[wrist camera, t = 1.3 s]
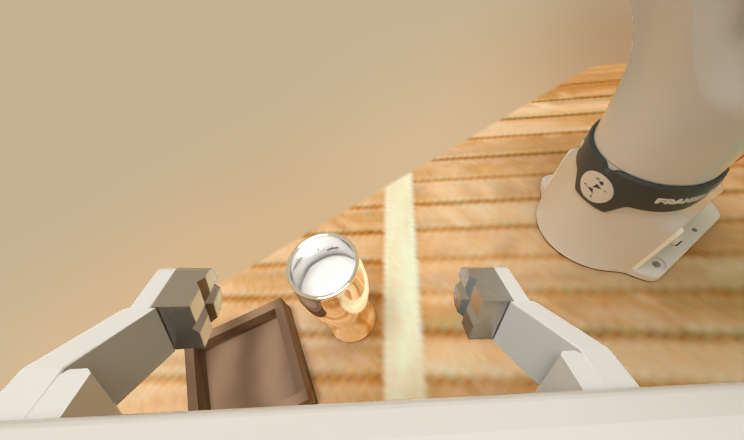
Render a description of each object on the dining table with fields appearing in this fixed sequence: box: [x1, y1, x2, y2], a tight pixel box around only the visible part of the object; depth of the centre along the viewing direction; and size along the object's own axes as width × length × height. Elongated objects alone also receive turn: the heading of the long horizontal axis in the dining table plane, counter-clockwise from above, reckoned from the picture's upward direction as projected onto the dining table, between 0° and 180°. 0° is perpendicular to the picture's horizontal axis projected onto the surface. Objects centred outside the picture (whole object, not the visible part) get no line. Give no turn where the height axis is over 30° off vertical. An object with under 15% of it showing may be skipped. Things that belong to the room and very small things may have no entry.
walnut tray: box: [185, 298, 318, 411], centre depth 35 cm, size 12×12×4 cm
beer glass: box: [286, 233, 376, 342], centre depth 33 cm, size 7×7×15 cm
